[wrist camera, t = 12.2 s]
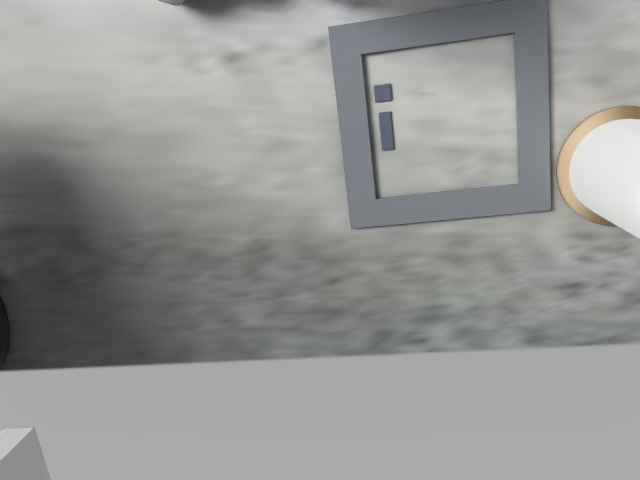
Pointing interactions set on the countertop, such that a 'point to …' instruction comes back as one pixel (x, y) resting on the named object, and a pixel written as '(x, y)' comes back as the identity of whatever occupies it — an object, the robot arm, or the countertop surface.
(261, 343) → the countertop surface
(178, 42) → the countertop surface
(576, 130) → the coaster
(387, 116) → the frame
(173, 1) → the stone
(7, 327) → the robot arm
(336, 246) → the countertop surface
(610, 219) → the can
